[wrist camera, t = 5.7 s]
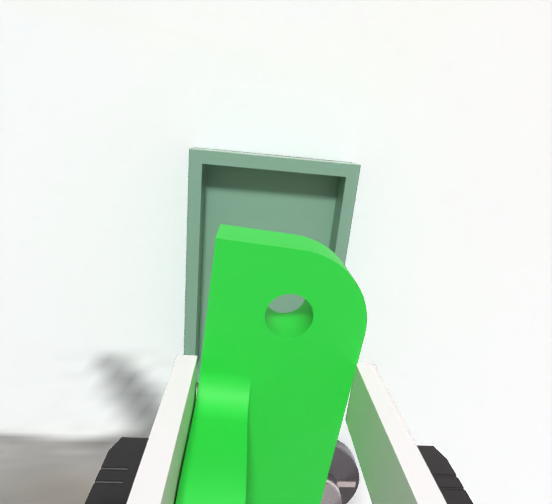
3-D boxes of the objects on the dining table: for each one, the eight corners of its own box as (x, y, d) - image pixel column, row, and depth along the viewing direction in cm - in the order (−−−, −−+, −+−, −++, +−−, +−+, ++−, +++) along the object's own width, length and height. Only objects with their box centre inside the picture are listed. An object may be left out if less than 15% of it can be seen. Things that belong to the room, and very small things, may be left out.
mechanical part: (312, 470, 19) (352, 701, 11) (192, 462, 18) (148, 700, 11) (367, 244, 15) (481, 358, 8) (220, 224, 15) (186, 325, 7)
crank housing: (264, 503, 35) (264, 517, 33) (272, 434, 32) (272, 445, 31) (348, 504, 35) (351, 518, 34) (362, 436, 33) (366, 448, 32)
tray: (188, 363, 30) (183, 382, 27) (195, 147, 25) (189, 149, 23) (319, 369, 31) (325, 388, 28) (351, 162, 26) (360, 165, 23)
